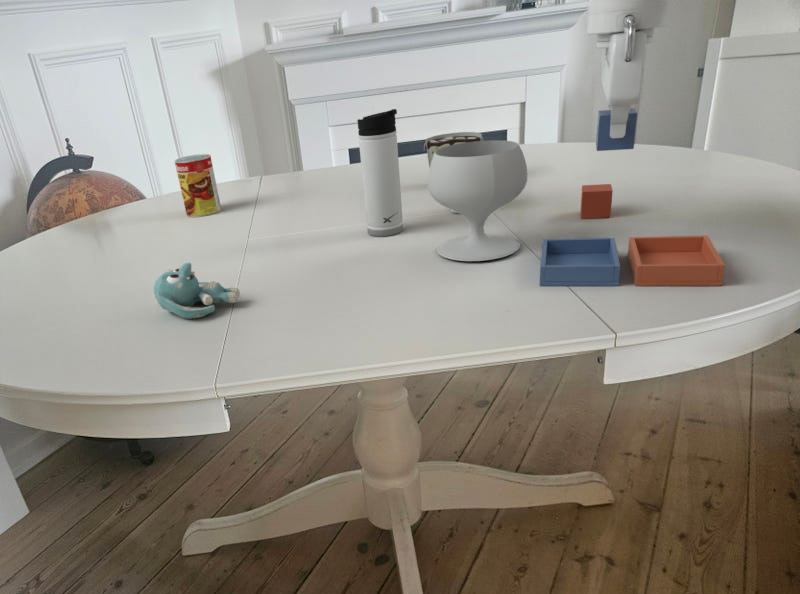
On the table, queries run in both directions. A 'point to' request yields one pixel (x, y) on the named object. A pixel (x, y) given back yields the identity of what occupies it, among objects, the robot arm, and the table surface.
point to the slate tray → (579, 262)
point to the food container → (449, 141)
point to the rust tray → (675, 261)
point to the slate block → (603, 132)
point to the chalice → (477, 193)
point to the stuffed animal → (190, 293)
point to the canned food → (198, 185)
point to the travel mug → (380, 173)
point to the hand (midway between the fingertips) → (615, 133)
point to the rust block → (596, 201)
